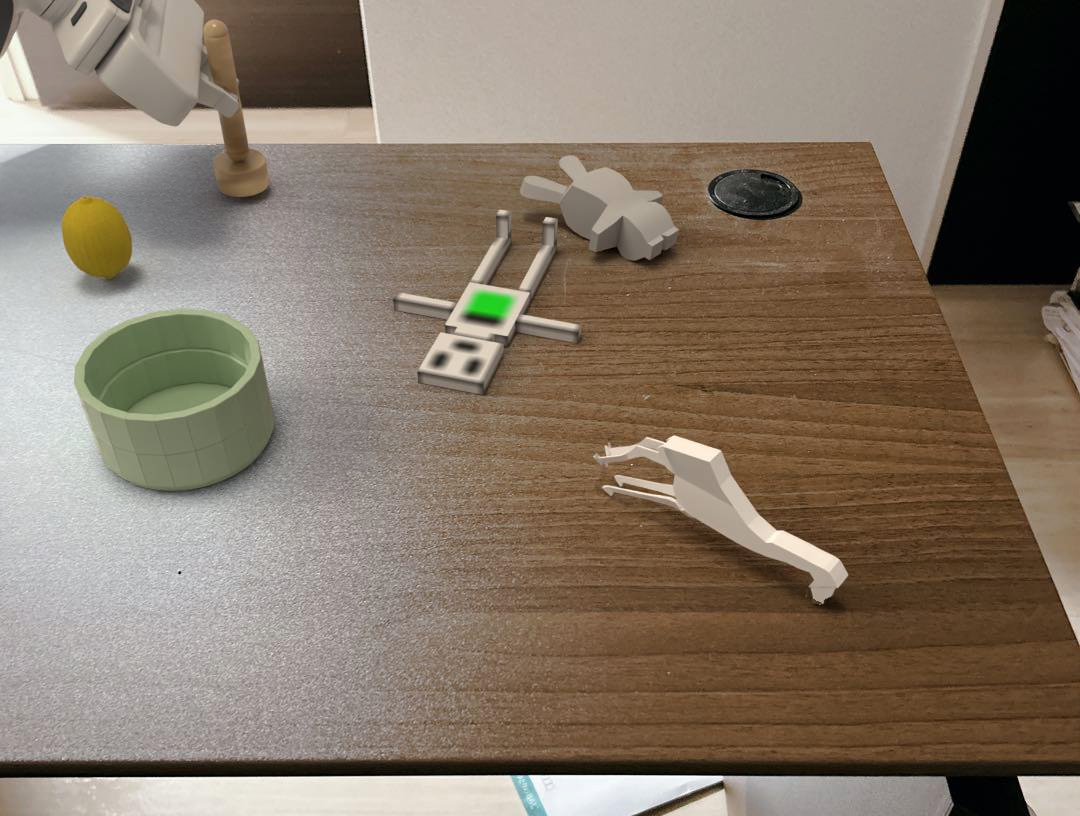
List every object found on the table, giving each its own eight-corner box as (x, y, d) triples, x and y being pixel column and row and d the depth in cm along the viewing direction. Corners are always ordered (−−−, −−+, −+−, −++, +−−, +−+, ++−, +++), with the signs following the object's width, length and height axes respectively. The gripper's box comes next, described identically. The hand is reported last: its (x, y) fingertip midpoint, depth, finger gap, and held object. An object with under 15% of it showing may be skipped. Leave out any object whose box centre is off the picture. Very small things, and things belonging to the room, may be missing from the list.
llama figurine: (625, 566, 86) (841, 612, 74) (585, 438, 80) (811, 466, 68) (639, 552, 87) (854, 595, 75) (600, 425, 81) (825, 450, 69)
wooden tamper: (211, 195, 109) (177, 30, 98) (225, 170, 113) (193, 7, 101) (262, 198, 109) (234, 33, 98) (274, 173, 112) (248, 10, 101)
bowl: (75, 488, 82) (46, 414, 77) (132, 377, 91) (109, 304, 86) (251, 498, 82) (233, 425, 77) (291, 386, 91) (278, 313, 85)
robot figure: (444, 231, 107) (354, 370, 92) (442, 200, 104) (350, 337, 90) (614, 260, 104) (549, 407, 89) (616, 228, 101) (550, 374, 87)
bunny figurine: (635, 243, 98) (512, 165, 104) (626, 290, 102) (507, 213, 108) (701, 203, 103) (580, 130, 109) (690, 249, 107) (573, 177, 113)
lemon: (67, 276, 101) (39, 194, 95) (124, 254, 103) (101, 174, 98) (94, 303, 98) (67, 221, 92) (152, 281, 101) (130, 199, 95)
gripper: (90, -22, 105) (217, 76, 113) (65, 74, 91) (212, 178, 99) (128, -76, 102) (255, 29, 110) (108, 15, 88) (256, 126, 97)
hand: (235, 100), depth 105 cm, fingers closed on wooden tamper, 2 cm apart
